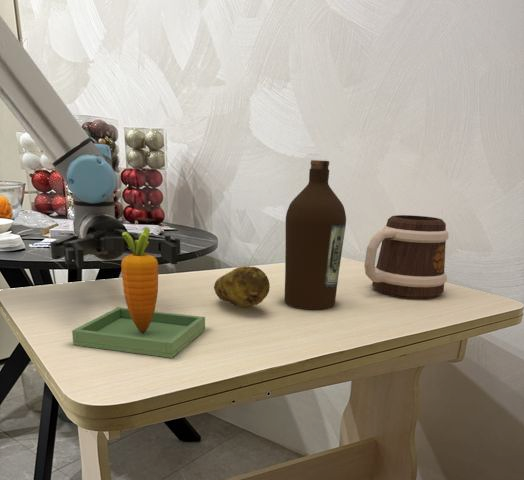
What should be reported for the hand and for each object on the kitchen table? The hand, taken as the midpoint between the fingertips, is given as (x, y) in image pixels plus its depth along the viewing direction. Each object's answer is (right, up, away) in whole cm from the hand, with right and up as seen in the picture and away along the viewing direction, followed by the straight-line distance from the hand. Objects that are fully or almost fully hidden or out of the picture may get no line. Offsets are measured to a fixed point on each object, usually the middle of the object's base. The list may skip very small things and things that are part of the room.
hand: (129, 257), depth 76 cm
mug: (+48, -2, +32) cm, 57 cm away
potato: (+16, -6, +16) cm, 23 cm away
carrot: (+2, -11, -1) cm, 12 cm away
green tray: (+2, -12, -1) cm, 12 cm away
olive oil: (+28, -5, +20) cm, 35 cm away
